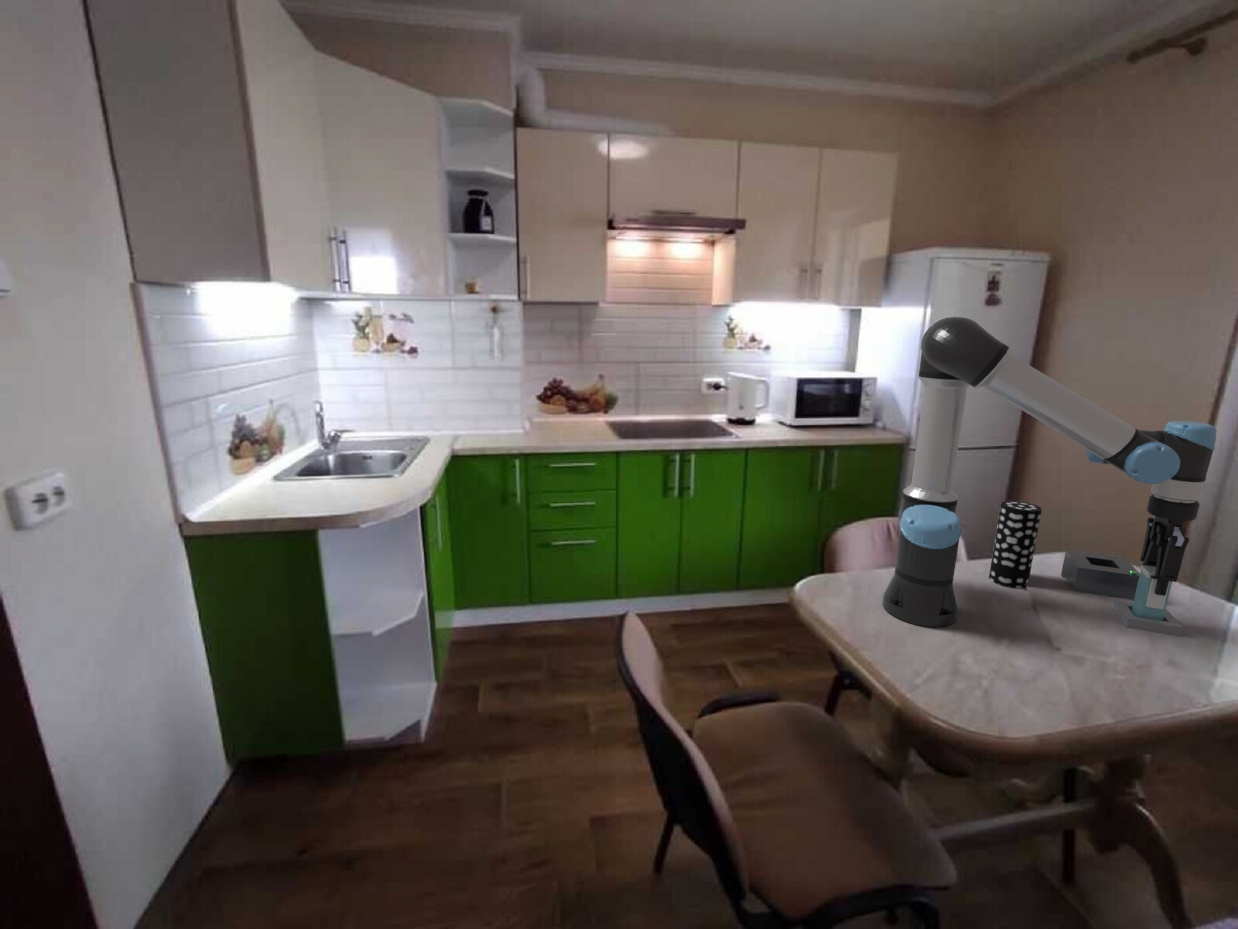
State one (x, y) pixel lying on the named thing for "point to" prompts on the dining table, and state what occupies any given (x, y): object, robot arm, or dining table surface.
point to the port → (1100, 574)
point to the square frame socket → (1147, 620)
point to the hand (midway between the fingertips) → (1149, 602)
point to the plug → (1142, 593)
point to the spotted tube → (1014, 543)
